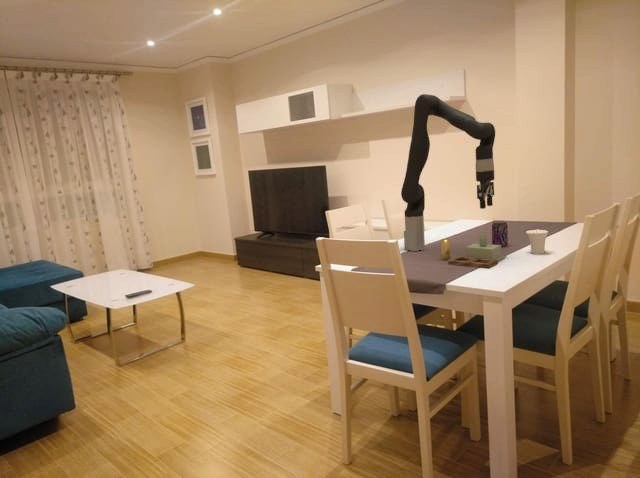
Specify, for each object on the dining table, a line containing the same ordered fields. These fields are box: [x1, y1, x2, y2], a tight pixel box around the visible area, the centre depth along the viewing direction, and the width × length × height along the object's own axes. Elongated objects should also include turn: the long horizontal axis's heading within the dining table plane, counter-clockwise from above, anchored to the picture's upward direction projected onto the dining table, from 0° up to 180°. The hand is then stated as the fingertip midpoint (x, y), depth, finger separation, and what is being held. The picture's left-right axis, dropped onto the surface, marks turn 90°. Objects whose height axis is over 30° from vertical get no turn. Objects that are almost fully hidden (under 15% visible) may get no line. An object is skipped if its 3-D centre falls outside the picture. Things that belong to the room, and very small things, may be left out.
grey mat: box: [464, 255, 508, 263], centre depth 203 cm, size 16×11×1 cm
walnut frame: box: [447, 255, 499, 269], centre depth 195 cm, size 18×9×2 cm, turn 47°
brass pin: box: [440, 238, 452, 261], centre depth 206 cm, size 4×4×9 cm
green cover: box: [465, 231, 502, 260], centre depth 202 cm, size 12×9×11 cm
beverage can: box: [491, 220, 509, 248], centre depth 224 cm, size 7×7×12 cm
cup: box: [525, 228, 549, 255], centre depth 205 cm, size 9×9×10 cm
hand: (486, 207), depth 201 cm, fingers open, 8 cm apart
